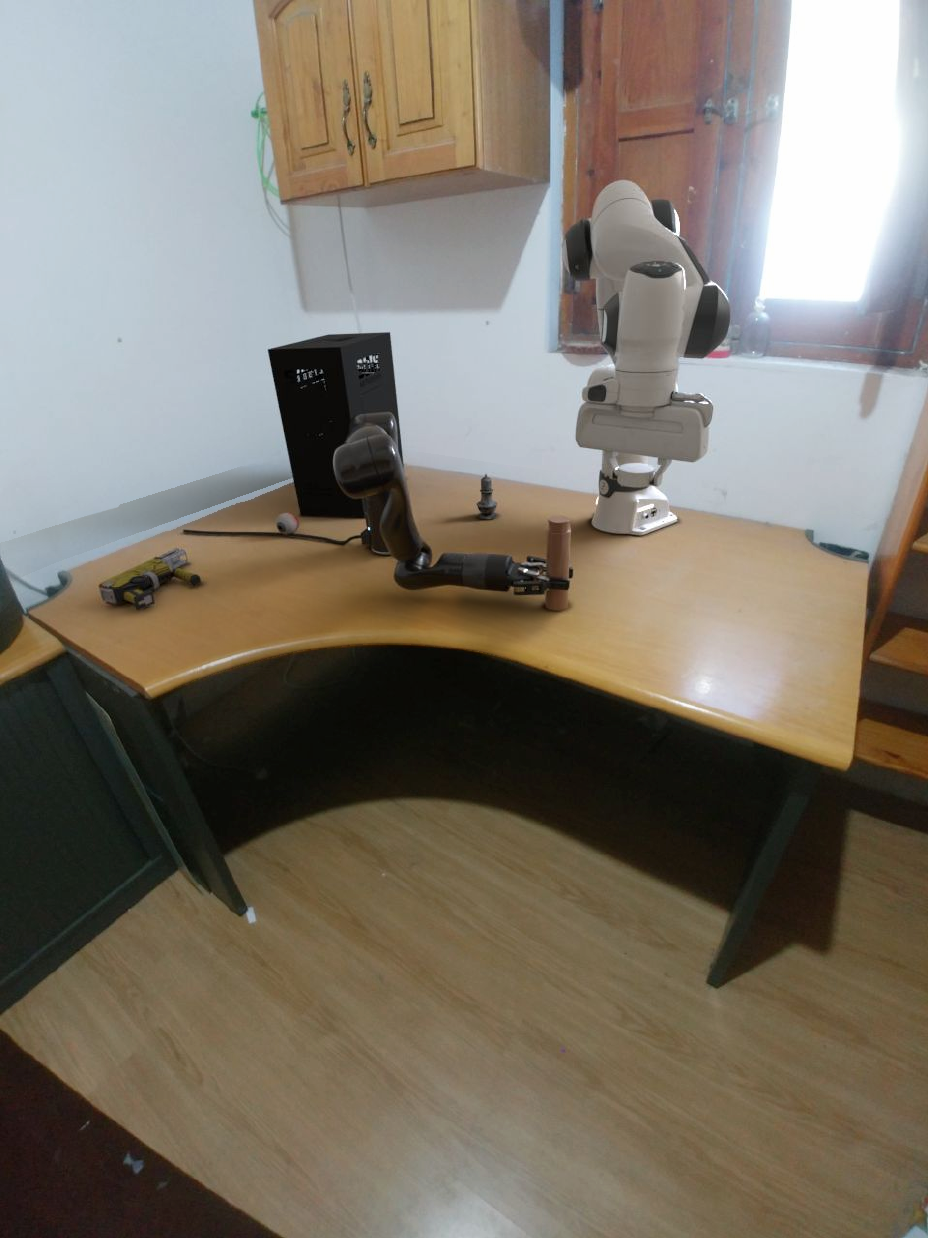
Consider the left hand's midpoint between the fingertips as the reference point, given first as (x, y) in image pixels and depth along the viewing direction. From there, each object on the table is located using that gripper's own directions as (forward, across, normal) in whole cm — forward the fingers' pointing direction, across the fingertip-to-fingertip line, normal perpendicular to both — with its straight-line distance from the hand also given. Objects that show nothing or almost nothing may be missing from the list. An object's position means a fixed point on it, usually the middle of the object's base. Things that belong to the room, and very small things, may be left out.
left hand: (570, 578), depth 119 cm
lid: (+11, -11, -25) cm, 30 cm away
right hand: (+11, -11, -24) cm, 28 cm away
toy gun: (-92, -9, +6) cm, 93 cm away
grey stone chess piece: (-30, +47, +6) cm, 56 cm away
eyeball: (-80, +25, +6) cm, 84 cm away
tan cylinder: (-3, 0, +6) cm, 7 cm away
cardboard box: (-76, +59, +6) cm, 96 cm away
